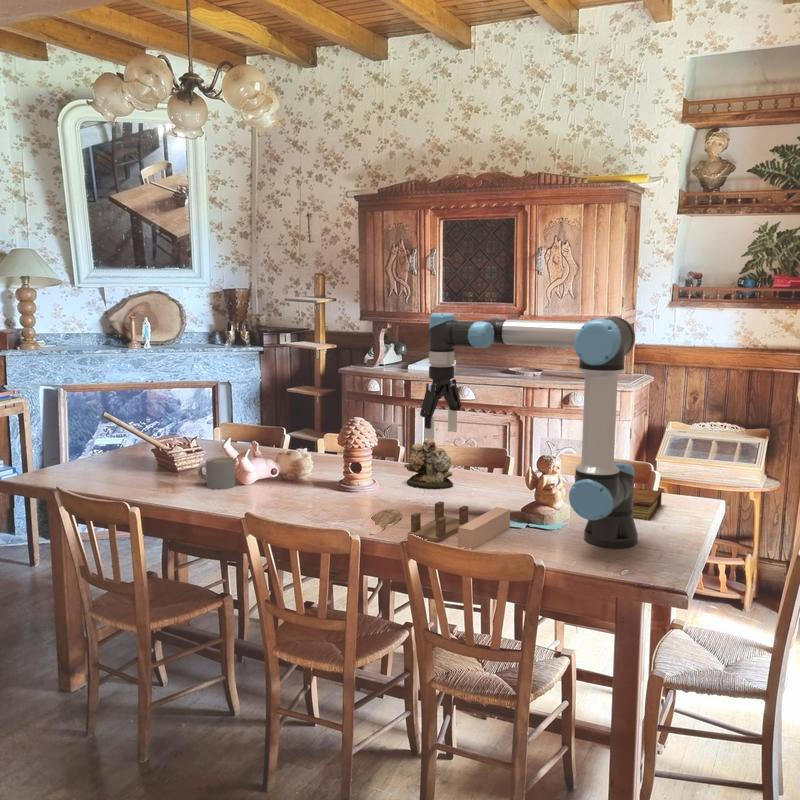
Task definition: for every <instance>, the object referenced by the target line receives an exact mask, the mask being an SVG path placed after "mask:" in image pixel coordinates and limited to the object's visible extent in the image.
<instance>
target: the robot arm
mask: <svg viewBox="0 0 800 800" xmlns="http://www.w3.org/2000/svg"><path fill="white" fill-rule="evenodd" d="M428 325H429V326H428V333H429V334H428V335H429V336H428V337H429V345H428V346H429V349H428V350H429V353H428V357H429V358H428V362H429V365H430V366H428V377H429V378H430V379H431V380H432V383H426V385H425V392H424V397H423V399H422V401H423V402H422V405H421V409H420V413H419V415H420V417H422V418H424V440H426V439H431V440H435V417H433V416H434V413H435V411H436V409H437V406H438V404H439V401H440V400H441V399H442V398H444V400H445V402H446V404H447V406H448V408H449V409H448V410H447V431H448V432H454V433H456V432H457V431H458V430H457V429H458V428H457V427H458V425H457V424H458V411H461V408H462V403H461V399H460V394H459V392H458V391H459V389H458V387H457V379H455V366H453V365H455V347H464V348H465V347H466V348H475V349H481V348H482V349H487V348H489V347H491V345H510V346H511V345H512V346H528V347H529V346H531V347H532V346H533V347H545V348H546V347H548V348H563V349H564V348H565V349H574V351H575V353H576V355H577V356H578V358H579V362H578V363H579V364H578V365H579V366H578V368H579V370H580V372H582V373H583V374H584V385H583V386H584V390H583V410H582V411H583V412H582V415H583V416H582V418H583V419H582V440H581V441H582V442H581V443H582V444H581V445H582V446H581V462H579V464H577V465H576V466H575V474H574V480H575V481H574V483H573V484H572V485H571V487H570V490H569V493H568V500H569V501H568V502H569V504H570V506H571V509H572V510H573V511H574V512H575V513H576V514H577V515H578V516H579V517H581V518H582V519H585V520H587V522H586V525H585V527H584V531H583V539H584V540H585V541H586V542H587V543H589V544H590V545H594V546H597V547H603V548H612V549H623V548H624V549H625V548H630V547H633V546H636V545H637V544H638V541H639V540H638V539H639V533H638V531H637V527H636V523H635V519H633V515H632V513H633V493H634V488H635V478H636V475H635V467H634V466H633V464H630V463H628V462H622V461H615V448H616V447H615V445H616V426H617V425H616V423H617V402H618V381H619V380H618V378H619V376H620V374H622V373H623V372H624V370H625V358H626V357H625V356H627V355H628V354H629V353H630V352H631V350H632V349H633V348H634V346H635V342H636V332H635V330H634V329H635V328H634V327H633V326H632V324H631V323H630V322H629V321H627V320H626V319H625V318H622V317H619V316H608V317H600V318H590V319H589V320H587V321H564V320H561V321H560V320H538V319H537V320H534V319H533V320H531V319H529V320H528V319H502V318H499V317H498V318H497V317H493V318H489V319H480V320H479V319H478V320H471V321H469V320H456V317H455V314H454V313H448V312H438V313H437V312H436V313H432V314H431V315H430V316H429V324H428Z"/></svg>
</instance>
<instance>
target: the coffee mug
mask: <svg viewBox="0 0 800 800" xmlns="http://www.w3.org/2000/svg"><path fill="white" fill-rule="evenodd" d="M235 464H236V463H235V457H233V456H229V455H217V456H211V457H207V458H206V461H205V462H201V463H200V464H199V465H198V467H197V475H198V477H199V478H200V479H202V480H204V481H206V487H207V488H208V489H210V490H215V489H217V490H229V489H232V488H234V487H236V466H235ZM203 468H204V469H205V470H206V471H205V472H206V473H205V474H204V473H203Z"/></svg>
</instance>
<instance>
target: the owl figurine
mask: <svg viewBox="0 0 800 800" xmlns="http://www.w3.org/2000/svg"><path fill="white" fill-rule="evenodd" d="M408 460H409V463H404V466H403V467H404V468H406V469H407V471H408V472H412V473H413V472H414V473H416V474H414V475H412V476H411V477H409V479H407V481H406V483H407V485H408V486H409V487H412V488H417V487H418V488H419V489H422V490H423V489H425V490H445V489H449V488H450V489H451V488H452V487H454V483H453V481H452V480H450V479H449V478H450V477H452V476H453V472H451V471H449V470H450V469H451V466H452V458H451V457H450V456H449V455H448V454H447V452H446V450H445V449H444V448H442V447H438V446H437V445H436V442H435V439H433V440H431V439H424V441H423V442H422V444H420V443H418V442H417V443H414V444H412V446H411V453H410V456H409V459H408Z"/></svg>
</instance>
